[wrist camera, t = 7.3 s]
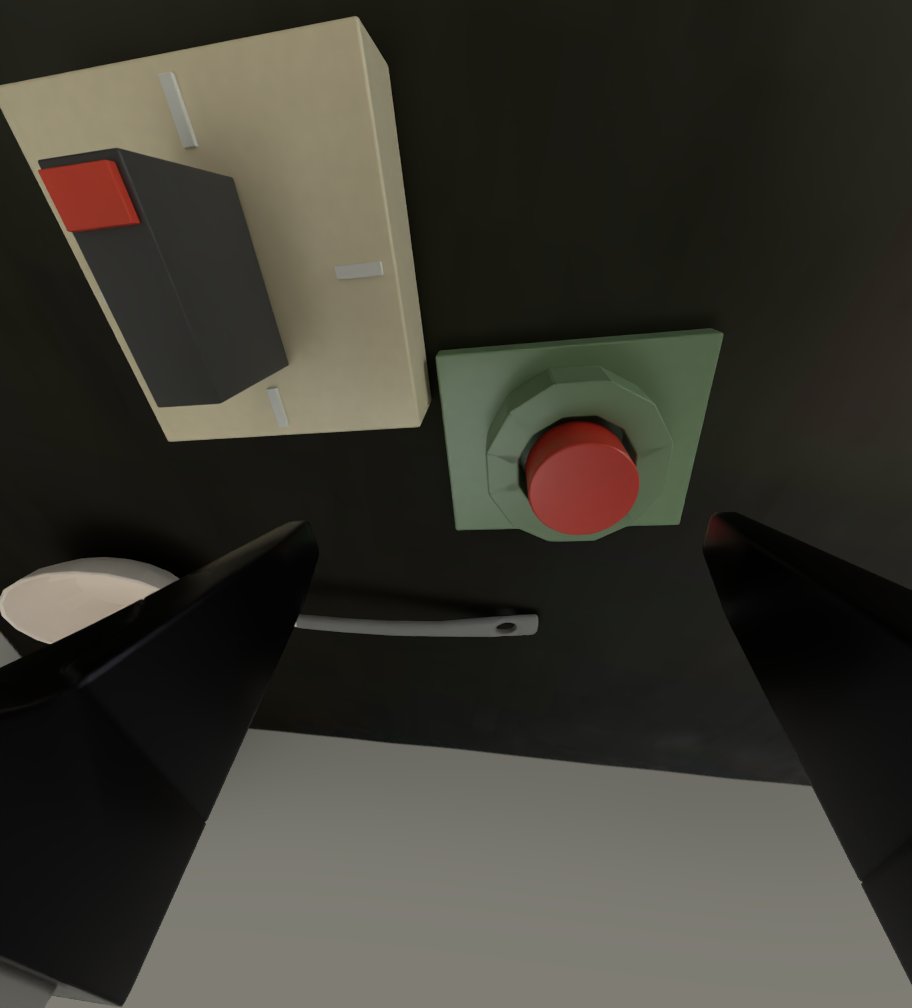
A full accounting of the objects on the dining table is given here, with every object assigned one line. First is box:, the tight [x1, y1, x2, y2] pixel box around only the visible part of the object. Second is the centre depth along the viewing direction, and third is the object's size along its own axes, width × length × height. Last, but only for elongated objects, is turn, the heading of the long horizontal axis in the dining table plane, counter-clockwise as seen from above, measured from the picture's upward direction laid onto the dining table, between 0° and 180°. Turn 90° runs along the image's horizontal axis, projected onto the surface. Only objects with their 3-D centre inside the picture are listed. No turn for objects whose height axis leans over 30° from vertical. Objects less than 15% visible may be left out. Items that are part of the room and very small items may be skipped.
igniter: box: [436, 328, 723, 541], centre depth 16 cm, size 10×8×3 cm
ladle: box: [0, 557, 538, 644], centre depth 23 cm, size 6×28×5 cm, turn 86°
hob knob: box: [38, 148, 289, 408], centre depth 11 cm, size 5×2×4 cm, turn 5°
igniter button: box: [525, 421, 640, 535], centre depth 14 cm, size 4×4×2 cm
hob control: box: [0, 16, 432, 442], centre depth 14 cm, size 10×10×3 cm
